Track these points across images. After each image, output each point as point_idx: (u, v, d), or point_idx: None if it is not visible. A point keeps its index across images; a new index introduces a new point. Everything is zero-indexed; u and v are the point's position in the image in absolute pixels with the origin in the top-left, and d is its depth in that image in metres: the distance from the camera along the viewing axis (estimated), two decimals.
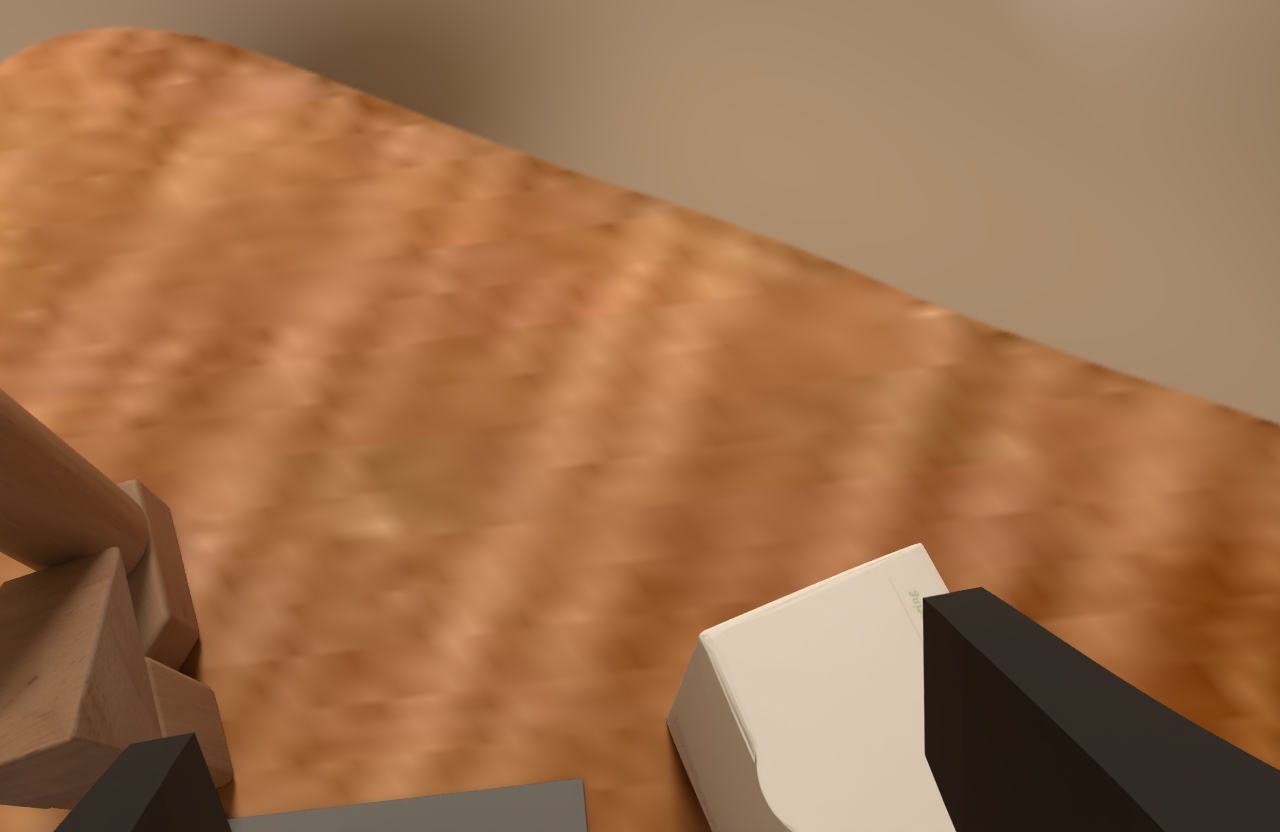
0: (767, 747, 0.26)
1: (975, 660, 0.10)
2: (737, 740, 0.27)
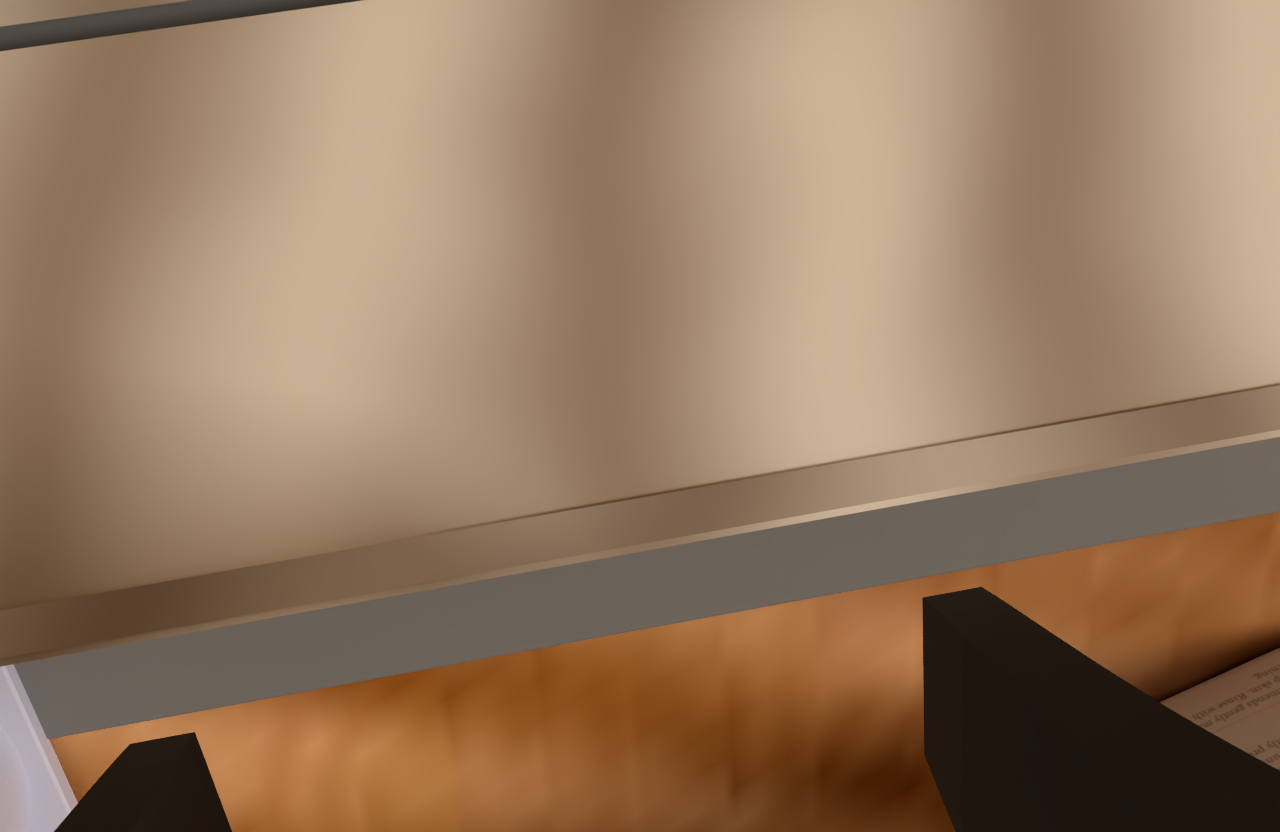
0: None
1: (975, 660, 0.10)
2: None
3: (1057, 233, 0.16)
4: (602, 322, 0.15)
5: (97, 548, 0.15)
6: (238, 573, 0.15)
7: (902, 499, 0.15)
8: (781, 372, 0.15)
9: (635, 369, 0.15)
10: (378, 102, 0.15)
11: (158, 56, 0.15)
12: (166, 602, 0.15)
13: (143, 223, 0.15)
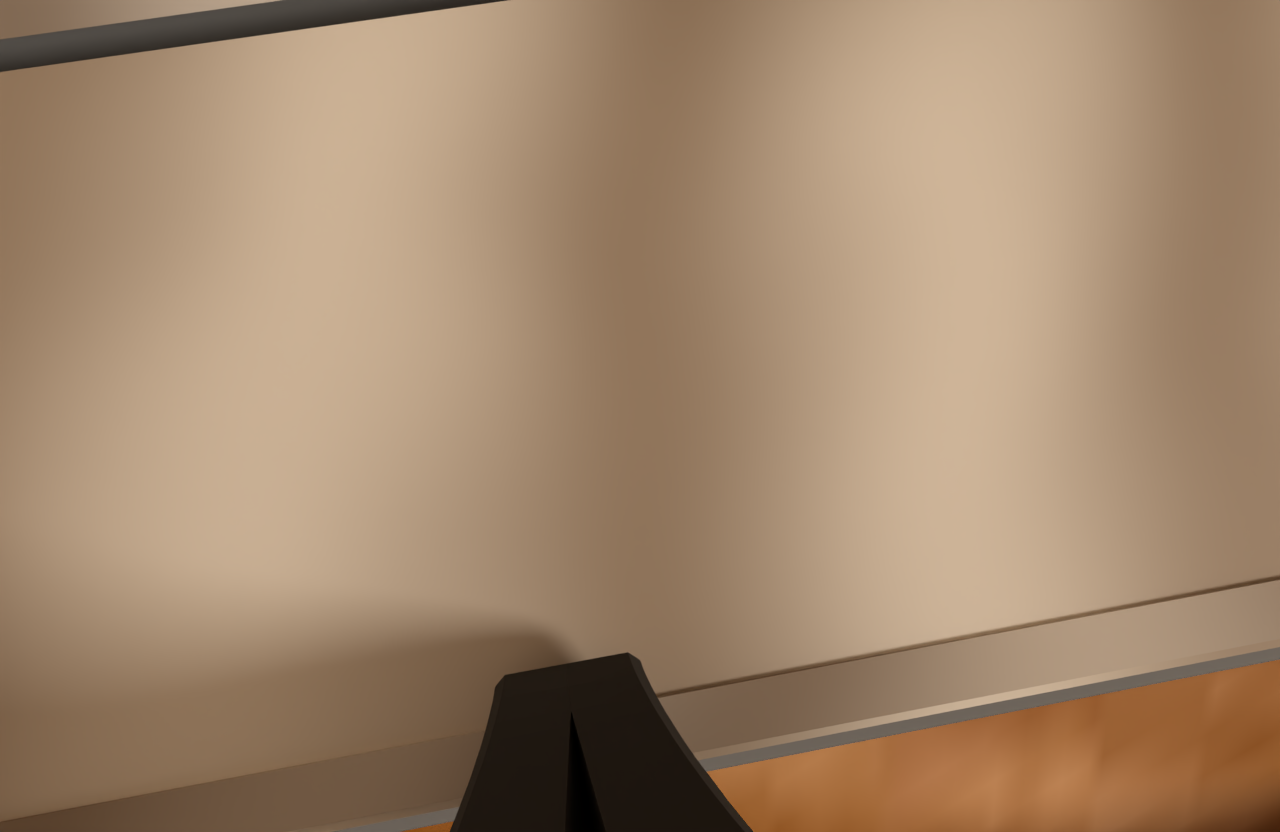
0: None
1: (577, 735, 0.10)
2: None
3: (1234, 335, 0.12)
4: (642, 457, 0.12)
5: None
6: (159, 798, 0.11)
7: (1032, 687, 0.12)
8: (876, 521, 0.12)
9: (686, 518, 0.12)
10: (345, 163, 0.12)
11: (50, 100, 0.11)
12: None
13: (30, 327, 0.11)
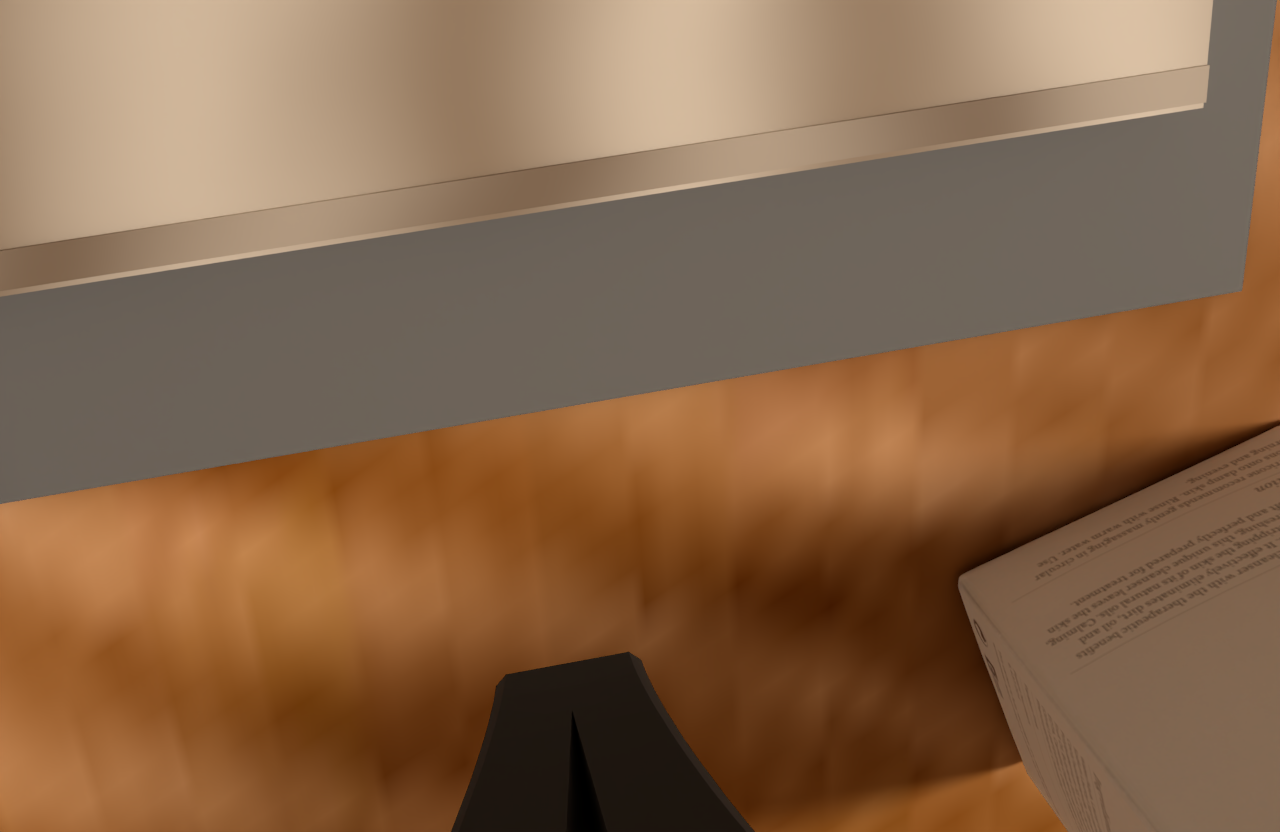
0: None
1: (578, 735, 0.10)
2: None
3: None
4: (457, 11, 0.17)
5: (15, 208, 0.17)
6: (145, 231, 0.17)
7: (716, 179, 0.18)
8: (619, 65, 0.17)
9: (488, 58, 0.17)
10: None
11: None
12: (86, 254, 0.17)
13: None
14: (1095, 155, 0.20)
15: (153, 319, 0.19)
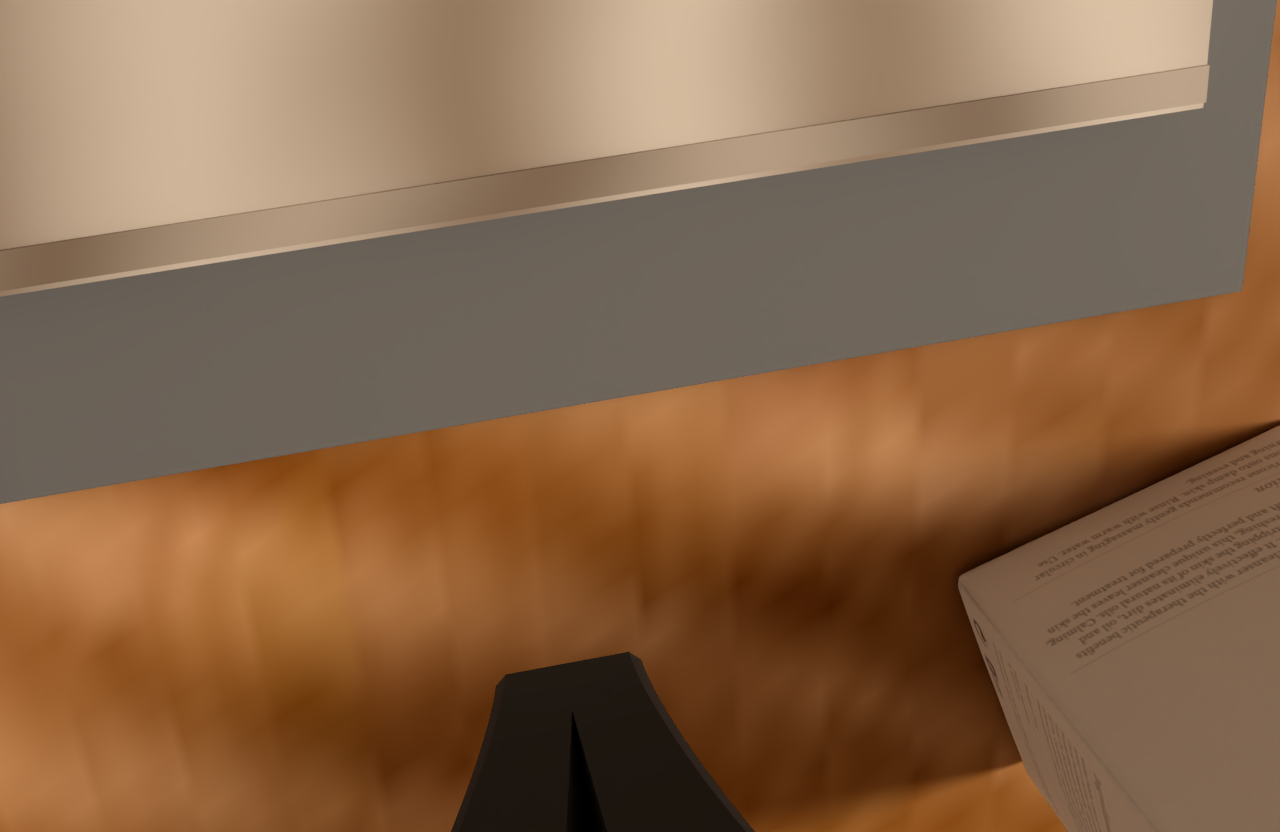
0: None
1: (578, 735, 0.10)
2: None
3: None
4: (457, 11, 0.17)
5: (15, 208, 0.17)
6: (145, 231, 0.17)
7: (716, 179, 0.18)
8: (619, 65, 0.17)
9: (488, 58, 0.17)
10: None
11: None
12: (86, 254, 0.17)
13: None
14: (1095, 155, 0.20)
15: (153, 319, 0.19)
